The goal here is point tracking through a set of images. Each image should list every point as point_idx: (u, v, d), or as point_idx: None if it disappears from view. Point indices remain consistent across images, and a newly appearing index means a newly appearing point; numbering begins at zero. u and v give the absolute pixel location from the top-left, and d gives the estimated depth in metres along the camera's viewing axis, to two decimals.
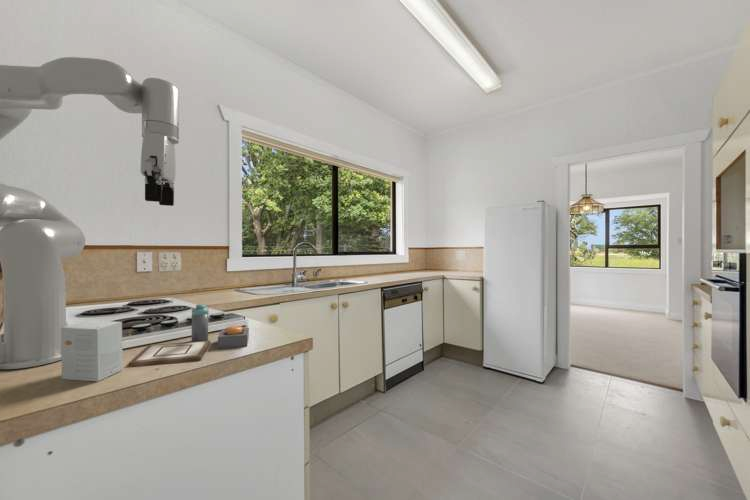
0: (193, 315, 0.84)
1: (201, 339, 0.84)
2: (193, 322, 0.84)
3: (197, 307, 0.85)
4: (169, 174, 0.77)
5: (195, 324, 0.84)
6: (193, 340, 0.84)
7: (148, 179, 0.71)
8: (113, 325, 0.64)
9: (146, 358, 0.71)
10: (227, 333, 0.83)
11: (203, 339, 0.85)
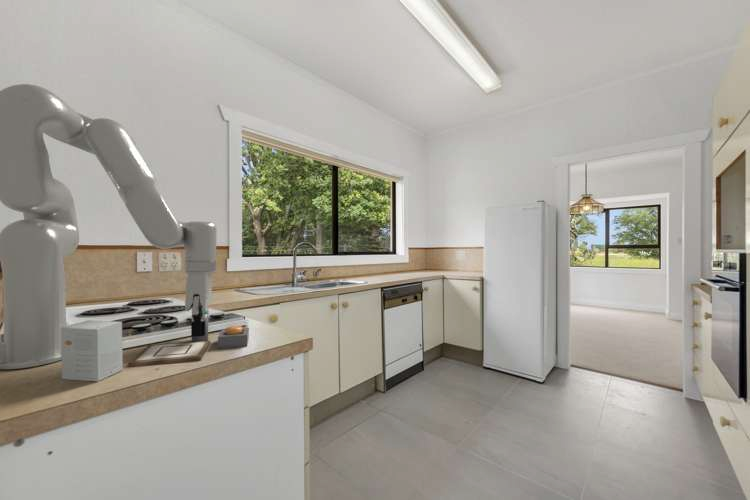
0: None
1: (201, 339, 0.84)
2: None
3: None
4: (208, 303, 0.85)
5: None
6: (193, 340, 0.84)
7: (194, 320, 0.82)
8: (113, 325, 0.64)
9: (146, 358, 0.71)
10: (227, 333, 0.83)
11: (203, 339, 0.85)
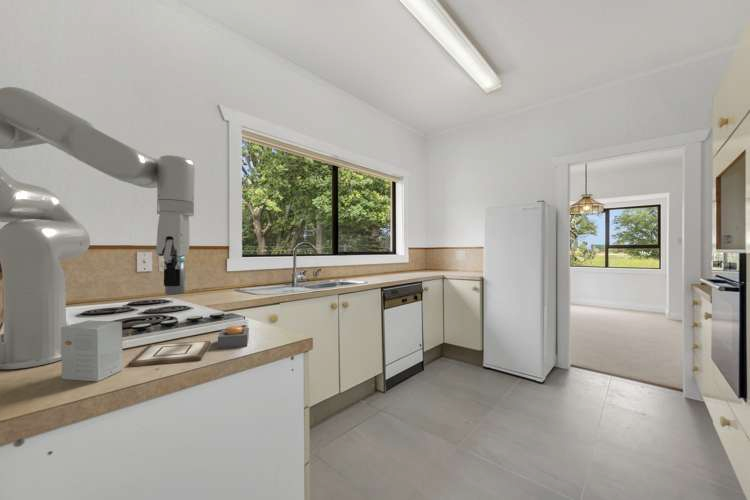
0: None
1: (175, 290, 0.74)
2: None
3: None
4: (184, 250, 0.75)
5: None
6: (167, 291, 0.74)
7: (167, 266, 0.72)
8: (113, 325, 0.64)
9: (146, 358, 0.71)
10: (227, 333, 0.83)
11: (178, 290, 0.75)
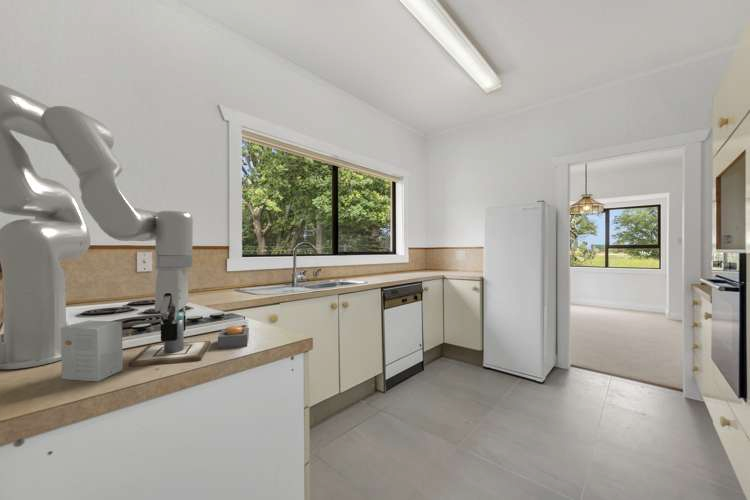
0: None
1: (174, 348, 0.74)
2: None
3: None
4: (183, 304, 0.75)
5: None
6: (165, 349, 0.74)
7: (164, 322, 0.70)
8: (113, 325, 0.64)
9: (146, 358, 0.71)
10: (227, 333, 0.83)
11: (177, 348, 0.75)
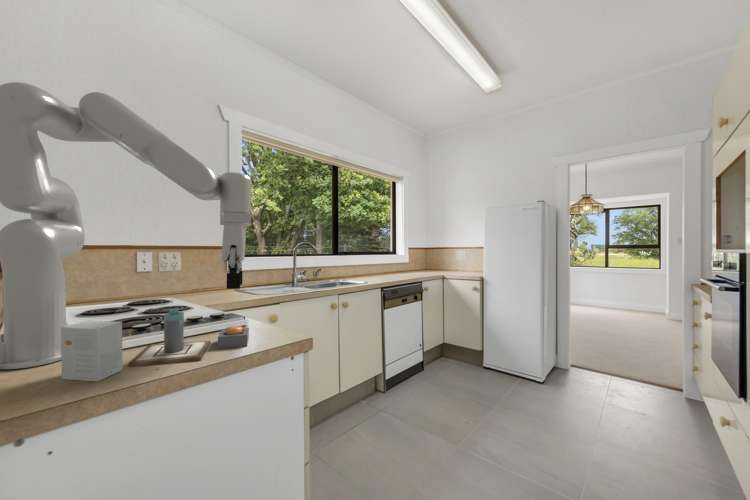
0: (165, 321, 0.74)
1: (174, 348, 0.74)
2: (165, 329, 0.74)
3: (170, 312, 0.75)
4: (243, 257, 0.84)
5: (168, 331, 0.74)
6: (165, 349, 0.74)
7: (230, 271, 0.79)
8: (113, 325, 0.64)
9: (146, 358, 0.71)
10: (227, 333, 0.83)
11: (177, 348, 0.75)
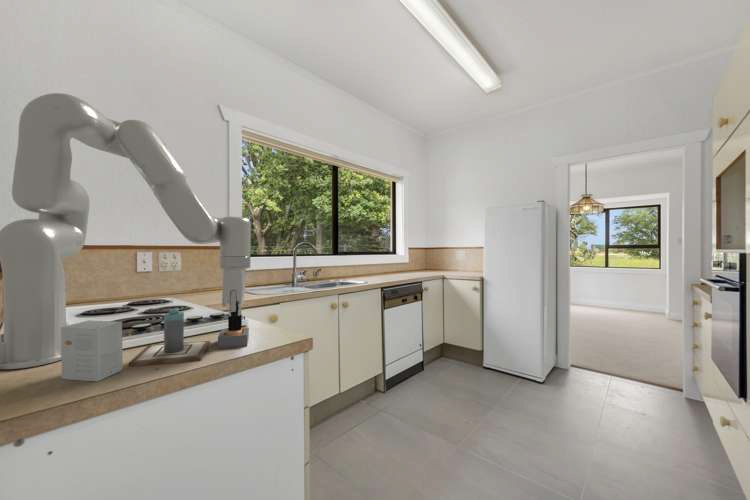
0: (165, 321, 0.74)
1: (174, 348, 0.74)
2: (165, 329, 0.74)
3: (170, 312, 0.75)
4: (243, 299, 0.84)
5: (168, 331, 0.74)
6: (165, 349, 0.74)
7: (232, 314, 0.83)
8: (113, 325, 0.64)
9: (146, 358, 0.71)
10: None
11: (177, 348, 0.75)
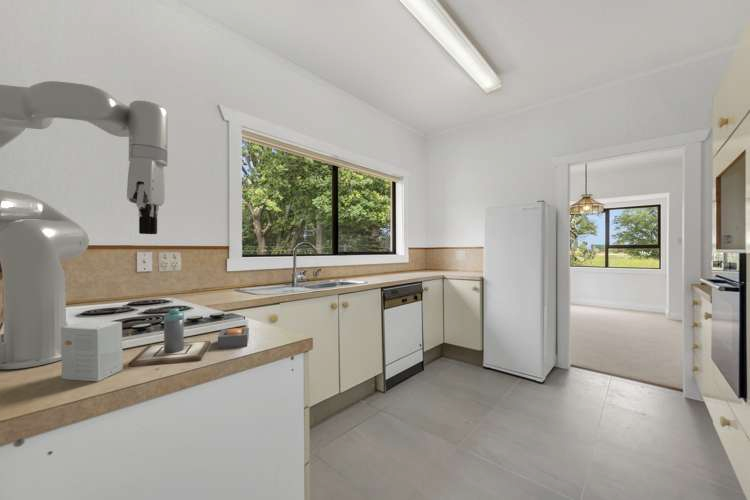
0: (165, 321, 0.74)
1: (174, 348, 0.74)
2: (165, 329, 0.74)
3: (170, 312, 0.75)
4: (157, 199, 0.75)
5: (168, 331, 0.74)
6: (165, 349, 0.74)
7: (142, 213, 0.73)
8: (113, 325, 0.64)
9: (146, 358, 0.71)
10: None
11: (177, 348, 0.75)
